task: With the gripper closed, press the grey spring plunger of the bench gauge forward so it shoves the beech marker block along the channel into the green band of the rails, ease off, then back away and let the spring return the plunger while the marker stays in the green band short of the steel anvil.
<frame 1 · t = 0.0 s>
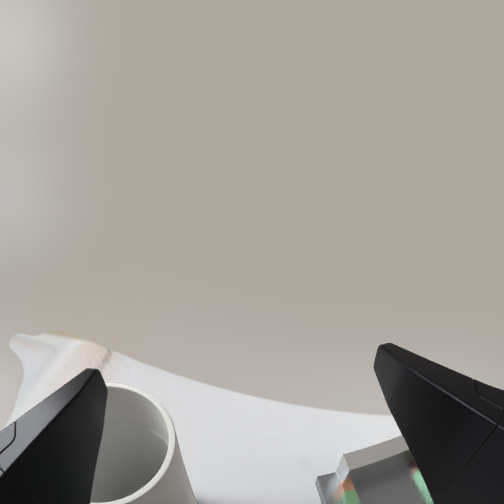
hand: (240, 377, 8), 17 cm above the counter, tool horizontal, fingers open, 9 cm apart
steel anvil: (375, 472, 16), resting on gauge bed
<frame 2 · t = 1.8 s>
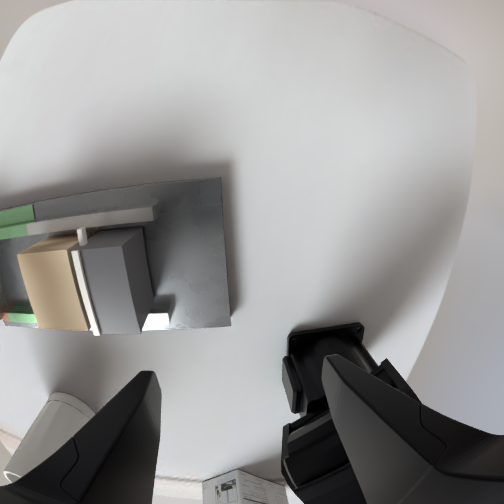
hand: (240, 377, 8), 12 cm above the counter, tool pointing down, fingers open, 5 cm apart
marker block: (77, 268, 17), point 1 cm above the counter, touching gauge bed
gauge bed: (84, 262, 18), on the counter
plunger: (114, 272, 15), point 4 cm above the counter, slide at 0.0 cm
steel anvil: (0, 269, 18), resting on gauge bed
cup: (73, 411, 23), on the counter
light bulb box: (245, 484, 30), on the counter
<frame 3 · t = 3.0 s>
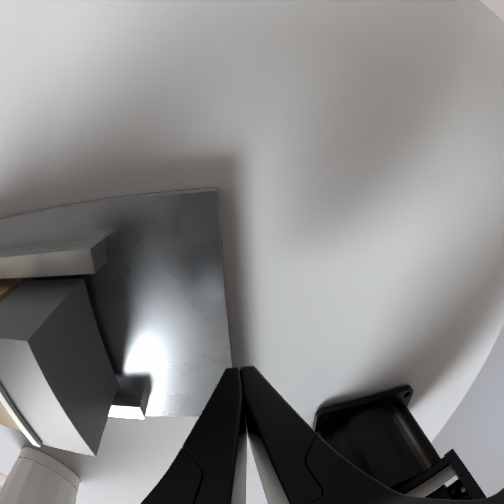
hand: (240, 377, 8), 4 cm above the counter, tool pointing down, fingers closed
marker block: (11, 328, 9), point 1 cm above the counter, touching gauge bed
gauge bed: (22, 316, 11), on the counter
plunger: (45, 358, 7), point 4 cm above the counter, slide at 0.0 cm
cup: (50, 465, 15), on the counter
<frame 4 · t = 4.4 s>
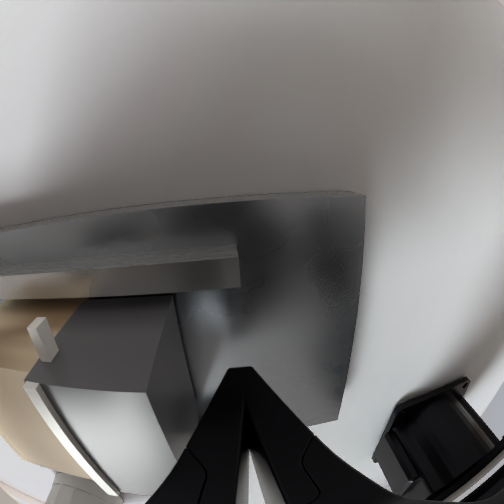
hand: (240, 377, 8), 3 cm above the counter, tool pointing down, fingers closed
marker block: (64, 355, 9), point 1 cm above the counter, touching plunger
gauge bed: (84, 338, 10), on the counter
plunger: (126, 395, 7), point 4 cm above the counter, slide at 1.0 cm, touching gripper, marker block
cup: (89, 489, 15), on the counter
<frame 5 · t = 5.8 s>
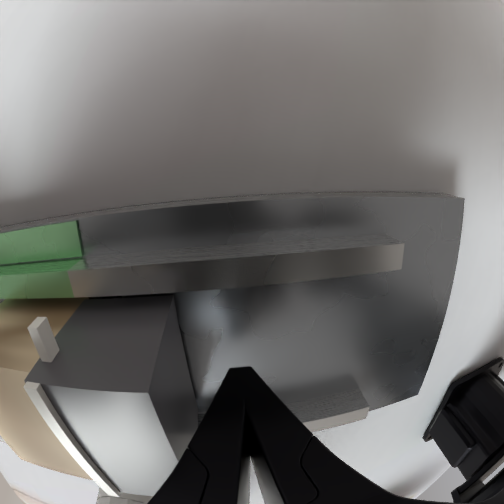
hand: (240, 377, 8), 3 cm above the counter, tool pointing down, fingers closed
marker block: (64, 355, 9), point 1 cm above the counter, touching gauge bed, plunger
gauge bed: (194, 336, 10), on the counter
plunger: (127, 395, 7), point 4 cm above the counter, slide at 5.7 cm, touching gripper, marker block
cup: (136, 497, 15), on the counter
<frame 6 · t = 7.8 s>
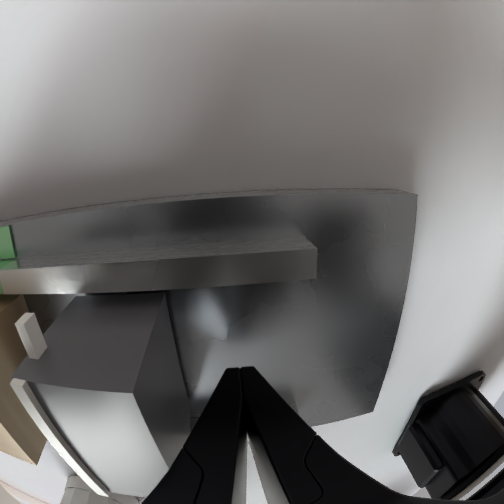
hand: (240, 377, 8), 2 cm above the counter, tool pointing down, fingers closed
marker block: (12, 346, 8), point 1 cm above the counter, touching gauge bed
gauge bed: (121, 336, 10), on the counter
plunger: (116, 394, 6), point 4 cm above the counter, slide at 3.0 cm, touching gripper
cup: (103, 491, 15), on the counter
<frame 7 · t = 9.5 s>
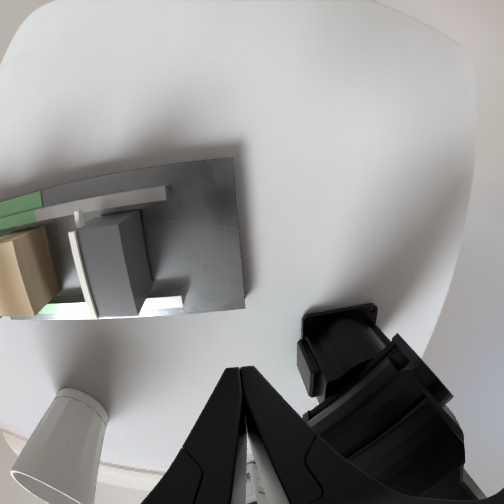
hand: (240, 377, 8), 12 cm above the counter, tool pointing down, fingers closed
marker block: (33, 261, 17), point 1 cm above the counter, touching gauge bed
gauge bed: (93, 249, 18), on the counter
plunger: (111, 255, 15), point 4 cm above the counter, slide at 1.0 cm
cup: (82, 407, 23), on the counter
light bulb box: (258, 478, 30), on the counter
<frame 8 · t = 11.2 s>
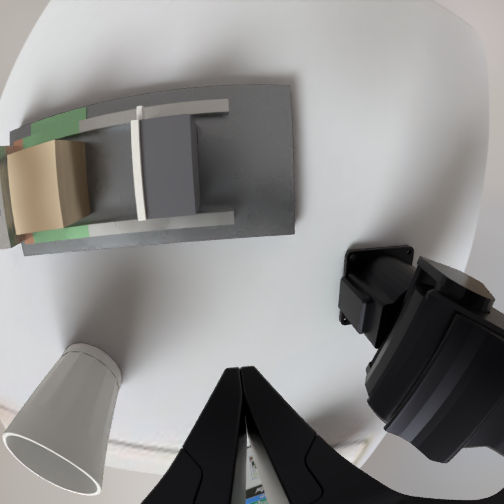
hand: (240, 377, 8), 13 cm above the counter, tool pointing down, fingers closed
marker block: (63, 182, 16), point 1 cm above the counter, touching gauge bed
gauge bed: (134, 170, 18), on the counter
plunger: (167, 158, 15), point 4 cm above the counter, slide at 1.0 cm
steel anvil: (27, 190, 17), resting on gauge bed
cup: (92, 368, 23), on the counter
light bulb box: (278, 456, 30), on the counter
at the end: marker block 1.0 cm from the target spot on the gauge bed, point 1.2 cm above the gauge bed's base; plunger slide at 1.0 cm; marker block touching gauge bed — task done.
